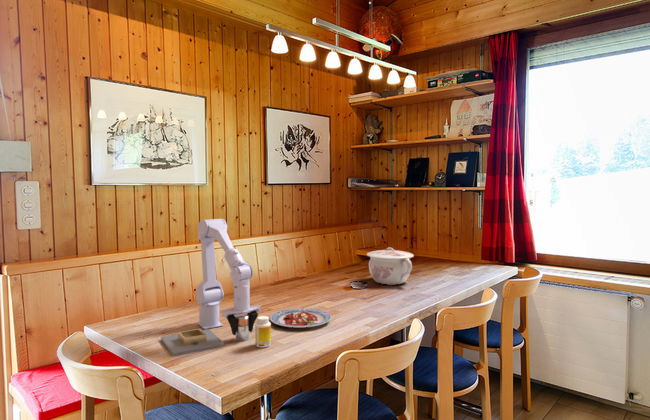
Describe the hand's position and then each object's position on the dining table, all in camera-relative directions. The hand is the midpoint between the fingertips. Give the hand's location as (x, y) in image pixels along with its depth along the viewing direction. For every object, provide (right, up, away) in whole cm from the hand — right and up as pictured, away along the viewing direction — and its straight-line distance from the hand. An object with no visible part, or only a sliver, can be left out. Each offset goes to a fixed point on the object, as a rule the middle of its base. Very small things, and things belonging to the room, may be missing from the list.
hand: (242, 332), depth 168 cm
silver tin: (0, -2, 0) cm, 2 cm away
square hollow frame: (-18, -3, -4) cm, 18 cm away
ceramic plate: (+21, -2, +22) cm, 30 cm away
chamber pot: (+69, +3, +93) cm, 116 cm away
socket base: (-18, -3, -4) cm, 18 cm away
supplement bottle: (+9, -3, -6) cm, 11 cm away
